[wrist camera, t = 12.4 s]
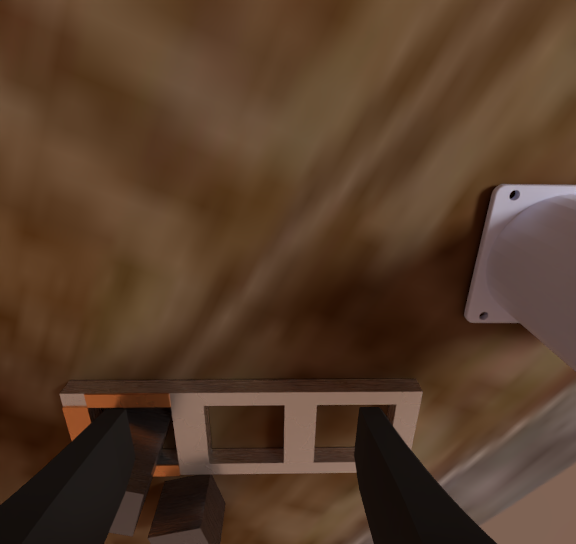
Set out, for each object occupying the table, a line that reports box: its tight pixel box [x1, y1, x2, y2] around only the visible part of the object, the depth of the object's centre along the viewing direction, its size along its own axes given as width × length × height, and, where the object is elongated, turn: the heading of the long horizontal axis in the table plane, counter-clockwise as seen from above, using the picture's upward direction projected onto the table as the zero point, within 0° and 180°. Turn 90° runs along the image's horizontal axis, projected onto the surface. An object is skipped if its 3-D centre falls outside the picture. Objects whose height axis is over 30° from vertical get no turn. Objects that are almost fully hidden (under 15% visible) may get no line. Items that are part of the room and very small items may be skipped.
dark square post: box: [109, 407, 172, 536], centre depth 22 cm, size 4×4×6 cm
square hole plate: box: [59, 379, 423, 476], centre depth 24 cm, size 22×7×1 cm, turn 89°
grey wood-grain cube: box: [148, 474, 225, 544], centre depth 26 cm, size 4×4×4 cm
